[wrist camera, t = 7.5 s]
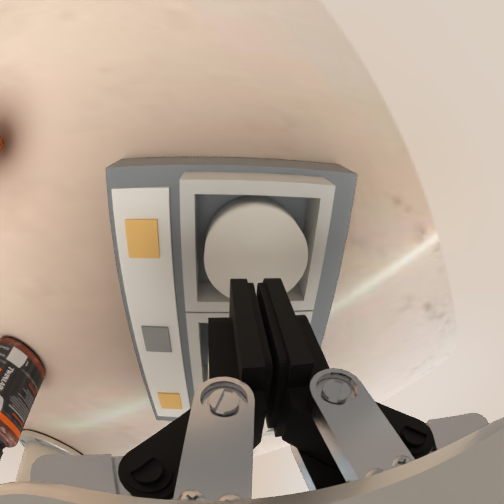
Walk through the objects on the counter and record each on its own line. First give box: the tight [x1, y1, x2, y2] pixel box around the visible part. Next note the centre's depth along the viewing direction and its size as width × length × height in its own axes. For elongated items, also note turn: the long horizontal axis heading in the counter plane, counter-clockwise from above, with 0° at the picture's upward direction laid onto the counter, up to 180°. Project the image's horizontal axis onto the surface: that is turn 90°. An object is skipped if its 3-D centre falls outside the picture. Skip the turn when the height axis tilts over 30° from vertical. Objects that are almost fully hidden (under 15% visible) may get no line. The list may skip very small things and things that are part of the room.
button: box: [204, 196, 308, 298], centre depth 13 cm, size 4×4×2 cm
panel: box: [106, 157, 357, 435], centre depth 18 cm, size 20×12×4 cm, turn 177°
